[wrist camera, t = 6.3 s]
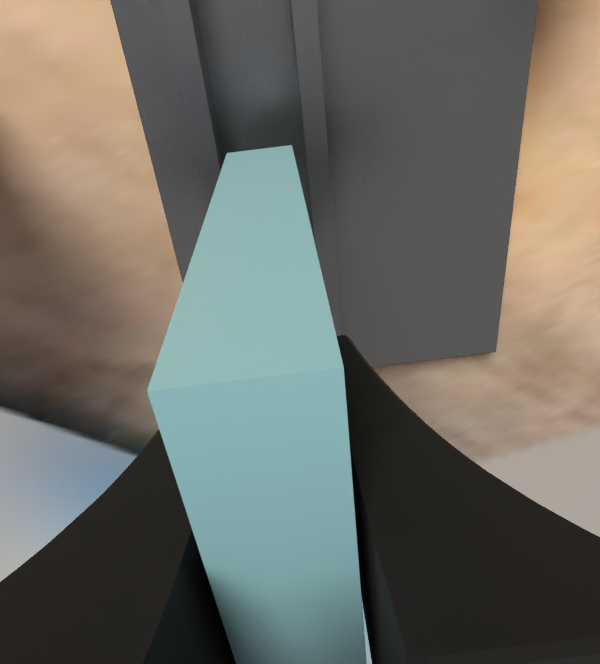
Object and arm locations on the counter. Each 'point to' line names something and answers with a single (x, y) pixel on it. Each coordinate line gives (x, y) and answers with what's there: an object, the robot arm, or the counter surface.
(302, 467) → the teal slab
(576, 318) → the counter surface
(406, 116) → the rack
